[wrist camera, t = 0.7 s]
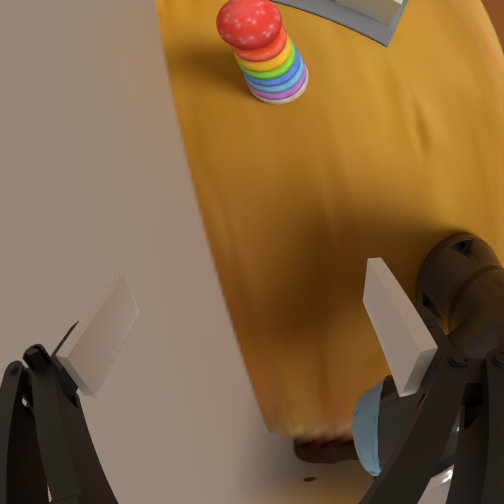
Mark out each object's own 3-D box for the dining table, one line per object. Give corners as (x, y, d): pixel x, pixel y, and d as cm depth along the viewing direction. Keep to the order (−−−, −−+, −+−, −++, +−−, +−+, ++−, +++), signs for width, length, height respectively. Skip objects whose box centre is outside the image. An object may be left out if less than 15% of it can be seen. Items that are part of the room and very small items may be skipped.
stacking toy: (306, 52, 29) (299, -30, 12) (309, 105, 32) (309, 51, 14) (247, 54, 31) (196, -17, 13) (248, 107, 33) (192, 62, 16)
